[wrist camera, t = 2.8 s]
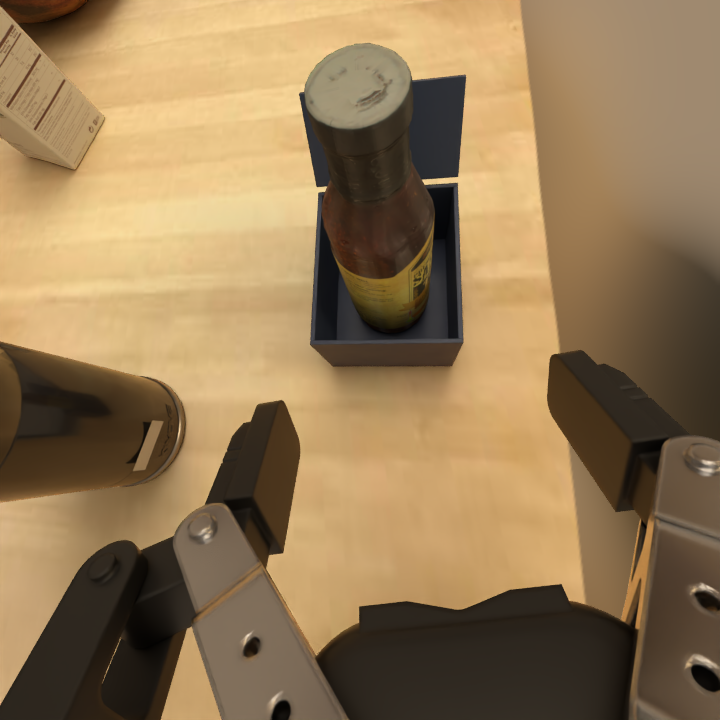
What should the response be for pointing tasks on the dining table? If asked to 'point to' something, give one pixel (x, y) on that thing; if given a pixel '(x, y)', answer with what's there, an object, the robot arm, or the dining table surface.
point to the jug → (39, 9)
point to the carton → (412, 346)
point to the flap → (418, 129)
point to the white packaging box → (41, 102)
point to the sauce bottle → (373, 183)
